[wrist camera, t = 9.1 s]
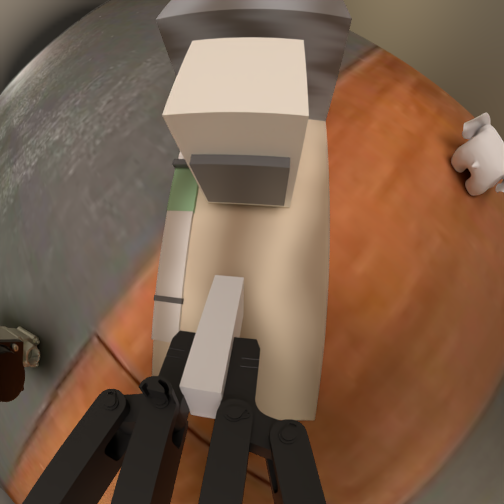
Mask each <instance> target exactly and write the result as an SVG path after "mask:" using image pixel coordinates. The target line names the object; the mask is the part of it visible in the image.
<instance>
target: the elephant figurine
mask: <svg viewBox="0 0 504 504" xmlns="http://www.w3.org/2000/svg"><path fill="white" fill-rule="evenodd" d="M462 136H463V138H465V139H470V140H469V141H467V142H466V143H465V144H463V145H462V146H460V147H459V148H458V149H457V150H456V151H455V153H454V154H453V156H452V159H451V164H452V165H453V167H454V169H455V170H456V171H457V172H460V173H461V172H463V171H464V170H465V169H466V168H468V169H469V171H470V173H471V177H470V178H469V179H468V180H466V182H465V186H466V189H467V191H468V193H469V194H470V195H472V196H476V195H480V194H482V193H484V192H485V191H486V190H487V189H488V188H491V187H493V186H495V185H496V184H497V183H498V182H499V180H500V179H503V181H502V183H501V184H497V186H496V189H495V191H496V192H497V193H498V192H499V191H502V192H504V142H503V141H502V139H501V138H500V136H499V134H498V133H497V131H496V130H495V129H494V127H492V126H491V125H490V117H489V114H488V113H484V114H482V115H480V116H479V117H476V118H474V119H472V120H470V121H468V122H466V123H464V129H463V132H462ZM472 137H473V138H472Z"/></svg>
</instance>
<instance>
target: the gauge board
mask: <svg viewBox="0 0 504 504" xmlns="http://www.w3.org/2000/svg"><path fill="white" fill-rule="evenodd" d="M351 20H352V18H351V16H350V14H349V12H348V9H347V8H346V5H345V3H344V1H343V0H171V1H170V2H169V3H168V4H167V6H166V7H165V8H164V9H163V11H162V12H161V13H160V14H159V16H158V17H157V18H156V22H157V25H158V28H159V30H160V33H161V36H162V39H163V41H164V44H165V47H166V50H167V52H168V55H169V58H170V61H171V63H172V66H173V69H174V72H175V74H176V77H177V75H178V72H179V70H180V67H181V65H182V63H183V60H184V58H185V56H186V54H187V51H188V49H189V47H190V45H191V43H192V41H195V40H205V39H217V38H241V37H262V38H285V39H298V40H304V50H305V62H306V75H307V90H308V109H309V118H308V123H307V128H306V133H305V138H304V143H303V148H302V153H301V158H300V163H299V167H298V172H297V177H296V182H295V186H294V191H293V195H292V200H291V205H290V207H276V206H261V205H244V204H223V203H207V201H206V199H205V197H204V195H203V193H202V192H201V190H200V188H199V186H198V184H197V182H196V180H195V178H194V176H193V174H192V172H191V171H190V169H189V167H182V168H175V172H174V177H173V181H172V186H171V191H170V196H169V201H168V206H167V216H166V222H165V228H164V234H163V240H162V247H161V253H160V260H159V268H158V276H157V284H156V293H155V295H154V301H155V303H154V313H153V325H152V339H153V340H154V341H153V359H152V376H158V375H159V373H160V370H161V367H162V364H163V362H164V359H165V357H166V354H167V351H168V349H169V346H170V343H171V341H172V338H173V337H174V336H175V335H176V334H177V333H178V332H179V331H180V330H181V331H187V332H194V333H196V331H197V328H198V325H199V322H200V319H201V316H202V312H203V309H204V306H205V303H206V300H207V297H208V294H209V291H210V288H211V285H212V282H213V280H214V277H215V275H222V276H233V277H244V311H243V320H242V326H241V332H240V338H249V339H257V341H258V344H259V346H260V359H259V369H258V379H257V388H256V397H255V402H256V405H257V407H258V409H259V410H260V411H261V412H262V413H263V414H265V415H267V416H269V417H272V418H275V419H277V420H284V419H292V420H315V415H316V408H317V401H318V394H319V387H320V379H321V370H322V361H323V352H324V341H325V330H326V317H327V301H328V282H329V251H330V197H329V167H328V148H327V133H326V118H327V114H328V111H329V107H330V103H331V100H332V96H333V92H334V88H335V85H336V81H337V77H338V73H339V69H340V65H341V62H342V58H343V54H344V49H345V45H346V41H347V37H348V33H349V29H350V24H351ZM178 159H184V157H183V155H182V153H181V151H180V154H179V158H178Z"/></svg>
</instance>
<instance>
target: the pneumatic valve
mask: <svg viewBox="0 0 504 504" xmlns="http://www.w3.org/2000/svg"><path fill="white" fill-rule="evenodd" d="M39 343H40V340H39V338H38V337H37V336H35V335H34V334H32V333H30V332H29V331H27V330H25V329H24V328H22V327H18V328H17V329H16V328H7V327H6V326H3V327H2V326H0V402H1V401H2V402H9V401H12V400H14V399H15V398H16V397H17V396H18V395H19V394H20V392H21V391H23V390H24V381H25V370H24V367H29V366H31V367H38V366H39V363H38V362H39V360H40V350H39V349H38V348H37V345H39Z"/></svg>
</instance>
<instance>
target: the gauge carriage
mask: <svg viewBox="0 0 504 504" xmlns="http://www.w3.org/2000/svg"><path fill="white" fill-rule="evenodd" d="M162 116H163V118H164V120H165V122H166V124H167V126H168V128H169V130H170V132H171V134H172V136H173V138H174V139H175V141H176V143H177V145H178V147H179V149H180V151H181V153H182V155H183V157H184V159H174V161H173V166H174V168H182V167H189V169H190V171H191V172H192V174H193V176H194V178H195V180H196V182H197V184H198V186H199V188H200V190H201V192H202V193H203V195H204V197H205V199H206V201H207V203H223V204H244V205H261V206H276V207H290V205H291V200H292V195H293V191H294V186H295V182H296V177H297V172H298V167H299V163H300V158H301V153H302V148H303V143H304V138H305V133H306V128H307V123H308V118H309V109H308V90H307V75H306V62H305V50H304V40H298V39H285V38H262V37H241V38H217V39H205V40H195V41H192V43H191V45H190V47H189V49H188V51H187V54H186V56H185V58H184V60H183V63H182V65H181V67H180V70H179V72H178V75H177V77H176V80H175V82H174V85H173V87H172V90H171V92H170V95H169V98H168V100H167V103H166V106H165V109H164V112H163V115H162Z"/></svg>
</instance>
